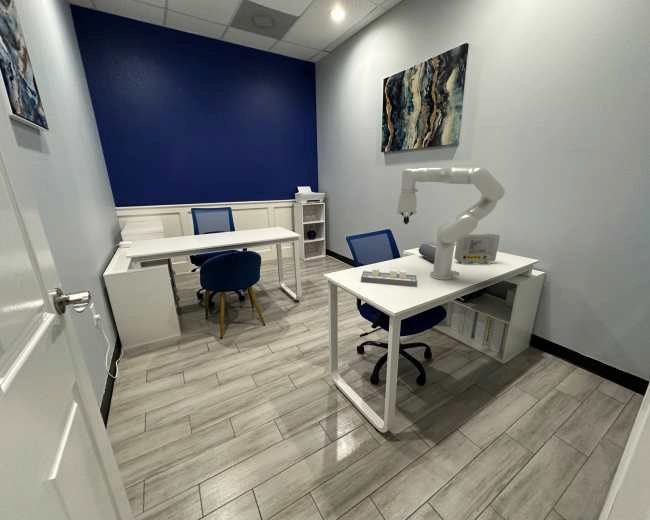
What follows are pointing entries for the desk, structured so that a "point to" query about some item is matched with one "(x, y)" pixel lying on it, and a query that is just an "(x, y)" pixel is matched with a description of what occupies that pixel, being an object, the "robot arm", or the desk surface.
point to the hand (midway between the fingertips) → (406, 223)
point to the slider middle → (393, 273)
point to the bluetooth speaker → (428, 252)
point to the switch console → (389, 279)
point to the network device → (477, 248)
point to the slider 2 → (402, 273)
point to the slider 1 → (375, 271)
